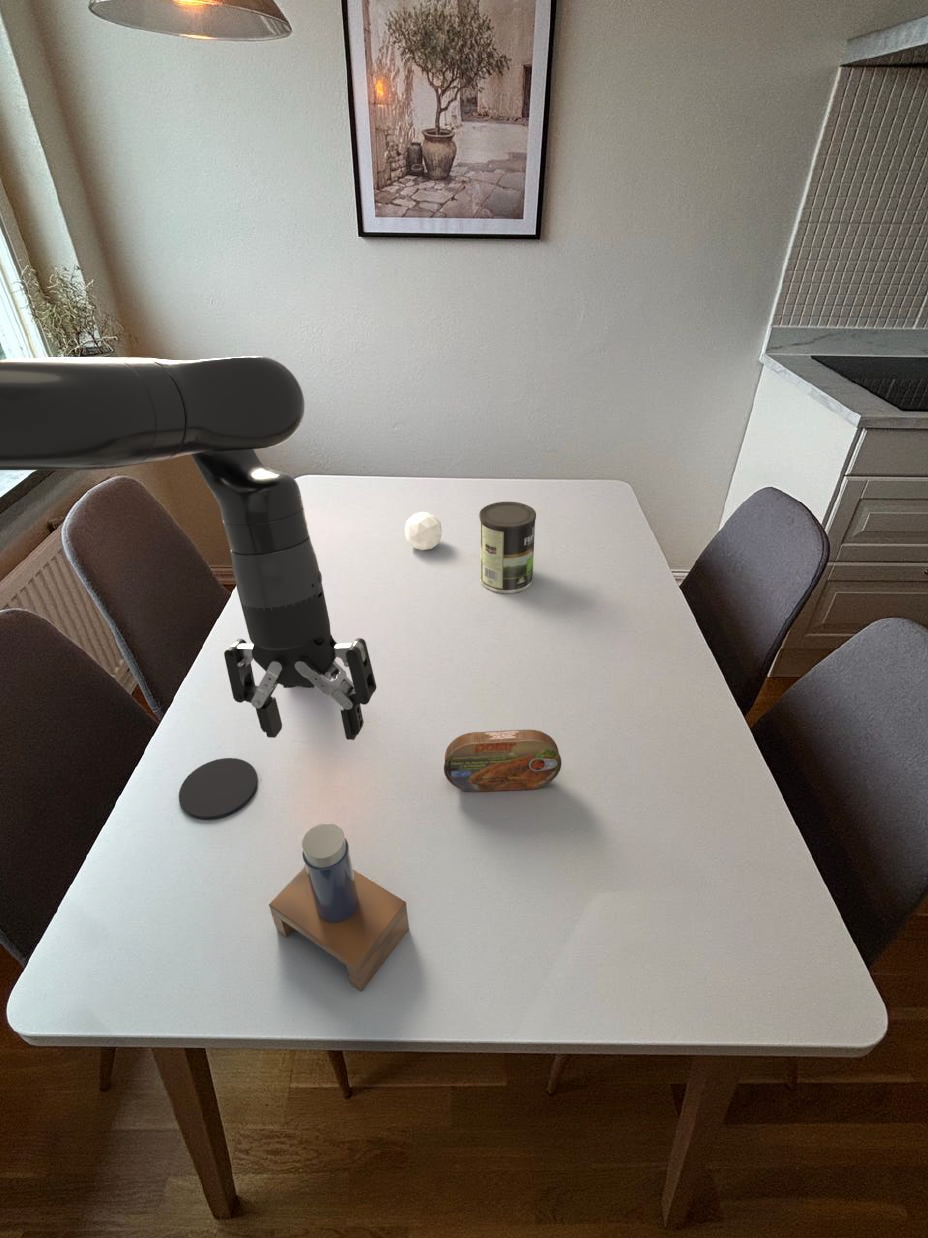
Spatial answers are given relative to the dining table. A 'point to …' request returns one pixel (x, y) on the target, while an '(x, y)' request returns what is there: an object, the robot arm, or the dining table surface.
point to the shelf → (345, 925)
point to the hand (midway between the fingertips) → (314, 734)
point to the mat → (218, 788)
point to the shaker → (330, 872)
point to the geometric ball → (423, 531)
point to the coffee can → (507, 546)
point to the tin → (502, 760)
